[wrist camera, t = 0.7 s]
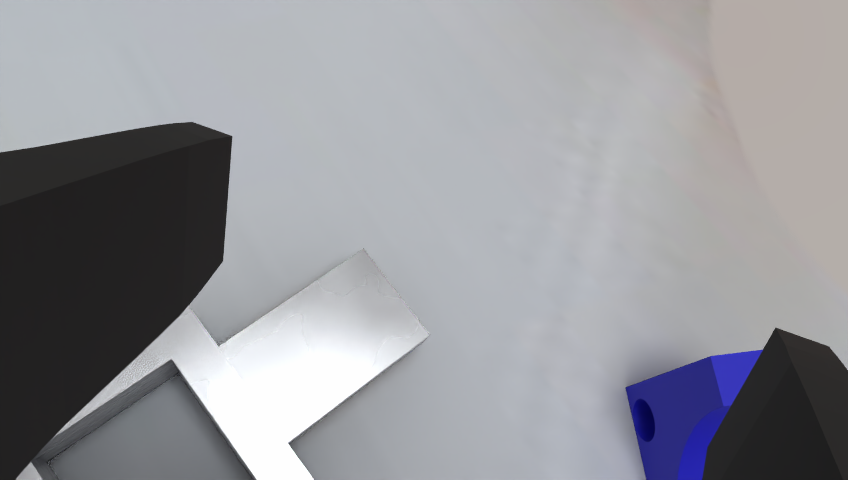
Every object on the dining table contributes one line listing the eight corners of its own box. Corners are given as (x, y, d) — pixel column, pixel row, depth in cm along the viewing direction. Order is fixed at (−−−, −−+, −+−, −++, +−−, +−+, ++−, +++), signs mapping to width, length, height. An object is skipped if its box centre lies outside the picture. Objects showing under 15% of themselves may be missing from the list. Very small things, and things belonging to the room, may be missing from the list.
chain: (114, 656, 23) (100, 670, 21) (-17, 453, 24) (-44, 446, 22) (447, 391, 28) (464, 379, 25) (325, 230, 29) (331, 206, 26)
